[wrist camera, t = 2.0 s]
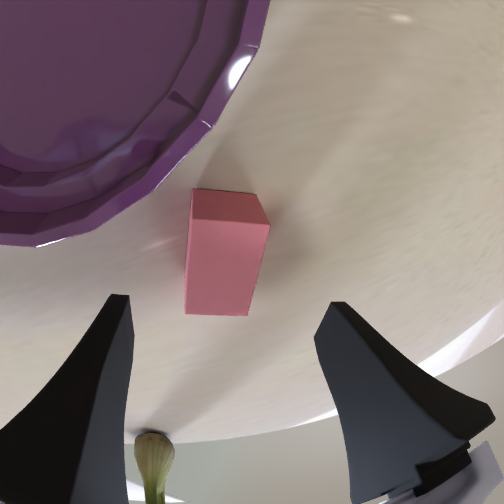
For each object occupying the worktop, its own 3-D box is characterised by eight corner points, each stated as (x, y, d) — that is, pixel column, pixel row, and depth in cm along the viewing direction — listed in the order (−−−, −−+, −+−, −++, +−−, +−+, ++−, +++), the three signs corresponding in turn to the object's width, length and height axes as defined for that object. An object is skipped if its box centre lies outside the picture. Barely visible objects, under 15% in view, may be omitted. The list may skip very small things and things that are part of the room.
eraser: (239, 277, 16) (247, 316, 14) (185, 274, 16) (184, 314, 13) (256, 194, 14) (271, 224, 11) (192, 188, 13) (192, 218, 10)
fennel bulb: (139, 424, 26) (143, 522, 16) (180, 432, 28) (190, 525, 18) (129, 438, 28) (132, 522, 19) (166, 444, 30) (173, 525, 21)
